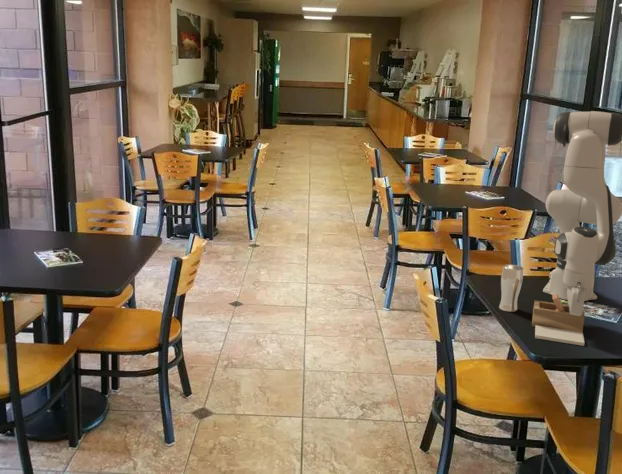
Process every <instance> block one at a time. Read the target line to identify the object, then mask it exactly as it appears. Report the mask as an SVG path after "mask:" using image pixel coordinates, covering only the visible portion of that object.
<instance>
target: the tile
mask: <svg viewBox="0 0 622 474" xmlns="http://www.w3.org/2000/svg"><path fill="white" fill-rule="evenodd" d="M551 298H552V301H553V303H555V305H556V307H557V309H555V310H556V311H563V312H566V311H565V309H564V307H563V305H562V304H563V303H562V301H561V298H559V297H558V295H557V293H556V294H553V295H551Z"/></svg>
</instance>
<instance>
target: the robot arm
mask: <svg viewBox="0 0 622 474" xmlns="http://www.w3.org/2000/svg"><path fill="white" fill-rule="evenodd" d="M552 133H553V136H554V139H555V140H556V142H557V143H559V144H561V145H562V147H564V148H566V146H567V144H568V147H567V150H566V154H565V159H564V164H563V165H564V166H563V183H564V185H565V186H566V188H567V189H554V190H552V191H551V192H550V193H549V194H548V195H547V197H546V198H545V199H546V200H545V210H546V212H547V214H548V215H549V216H550V217H551V218H552V219H553V220H554V222H555V223H556V225H557V227H558V229H559V235H558V236H557V237H556V238H555V242H554V248H553V249H554V251H553V253H554V255H556V257H557V259H556V267H555V269H553V270H552V271H550V272H549V275H548V278H549V280H548V282H547V284H546V285H545V286H544V288H543V290H542V292H543V293H545V294H548V295H551V296H552V295H553V294H556V293H557V295H558V297H559V299H560V300H561V299H562V300H566V301H567V303H568V304H567V305H569V312H570V314H571V315H576V316H582V313H583V310H584V306H585V301H587V302H588V301H589V300H590V301H591V300H597V299H598V295H596V293H595V292H594V284H595V274H596V273H595V272H596V268H595V265H597V266H605V265H607V264H609V263H610V262H611V261H613V260H614V259H615V256H616V252H617V250H616V241H615V235H614V225H615V224H616V223H617V222H618V221H619V220H620V218H621V217H622V203H621V200H620V199H619V198H618V197H617V196H615V194H613V192H611V189H610V187H609V186H608V185H607V182H606V179H605V163H606V162H605V161H606V148H607V146H615V145H618V144H620V143H621V142H622V114H621V113H617V112H613V111H612V112H605V111H597V110H596V111H595V110H591V111H572V112H571V111H565V112H560V113H559V114H558V115H557V116H556V118H555V120H554V123H553V125H552ZM580 223H583V224H584V223H585V224H593V225H596V227H597V228H596V229H597V230H595V228H594V229H593V228H592V227H589V226H581V225H580Z"/></svg>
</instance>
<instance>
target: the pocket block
mask: <svg viewBox="0 0 622 474" xmlns="http://www.w3.org/2000/svg"><path fill="white" fill-rule="evenodd" d="M533 301H534V303H533V308H532V316H531V327H534V328H535V326H536V325H538V326H545V327H551V328H558V329H564V330H571V331H577V332H583V331H584V323H585V317H586V316H585V315H586V314H585V310H584V309H583V313H582V316H576V315H571V314H570V312H569V305H568V304H564V303H562V305H563V307H564V309H565V311H566V312H563V311H556V310H555V309H557V307H556V305H555V303H554V302H549V301H542V300H536V299H535V300H533Z"/></svg>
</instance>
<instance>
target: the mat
mask: <svg viewBox="0 0 622 474" xmlns="http://www.w3.org/2000/svg"><path fill="white" fill-rule="evenodd" d="M534 339H538V340H544V341H551V342H557V343H564V344H571V345H577V346H582V347H584V346H585V337H584V333H583V331H582V332H577V331H571V330H564V329H558V328H551V327H545V326H538V325H536V326H535V327H534Z"/></svg>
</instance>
